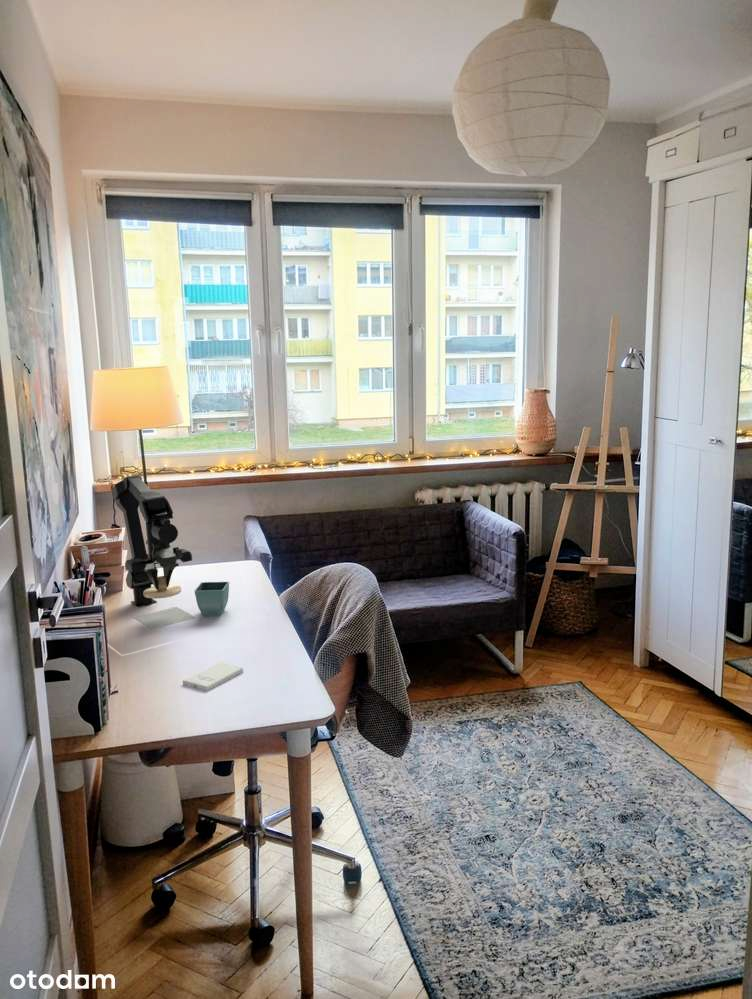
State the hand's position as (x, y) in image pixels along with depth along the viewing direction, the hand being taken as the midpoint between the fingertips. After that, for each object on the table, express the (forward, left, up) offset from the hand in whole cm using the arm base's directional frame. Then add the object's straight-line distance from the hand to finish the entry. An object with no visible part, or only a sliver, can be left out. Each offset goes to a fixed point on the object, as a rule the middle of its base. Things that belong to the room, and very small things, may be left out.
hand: (161, 588), depth 233 cm
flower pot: (+7, +13, -10) cm, 18 cm away
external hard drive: (+51, -9, -10) cm, 52 cm away
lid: (0, 0, -2) cm, 2 cm away
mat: (0, 0, -10) cm, 10 cm away
